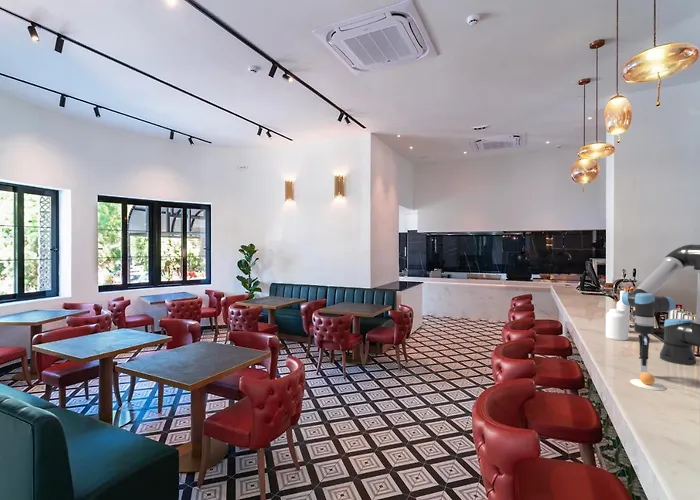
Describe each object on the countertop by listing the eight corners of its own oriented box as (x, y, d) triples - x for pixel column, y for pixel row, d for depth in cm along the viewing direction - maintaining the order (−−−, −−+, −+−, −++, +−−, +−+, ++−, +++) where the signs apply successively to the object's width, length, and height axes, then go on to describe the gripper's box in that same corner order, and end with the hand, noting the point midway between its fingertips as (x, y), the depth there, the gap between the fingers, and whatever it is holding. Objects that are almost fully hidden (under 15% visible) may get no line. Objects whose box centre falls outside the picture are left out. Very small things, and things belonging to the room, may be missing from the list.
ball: (654, 386, 169) (653, 373, 171) (656, 385, 165) (655, 373, 166) (639, 383, 172) (638, 371, 174) (640, 383, 168) (640, 370, 169)
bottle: (623, 333, 260) (624, 291, 260) (613, 330, 268) (613, 290, 267) (632, 332, 262) (632, 291, 262) (621, 329, 270) (622, 289, 269)
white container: (601, 337, 251) (601, 308, 250) (612, 335, 256) (612, 306, 256) (621, 341, 239) (621, 311, 239) (632, 339, 245) (632, 309, 244)
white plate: (663, 382, 171) (663, 382, 171) (668, 392, 160) (668, 392, 160) (628, 377, 178) (628, 377, 178) (631, 386, 167) (631, 386, 167)
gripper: (633, 321, 188) (632, 366, 188) (636, 326, 177) (635, 374, 177) (651, 322, 183) (651, 368, 184) (656, 328, 173) (655, 377, 173)
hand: (643, 371), depth 181 cm, fingers closed
